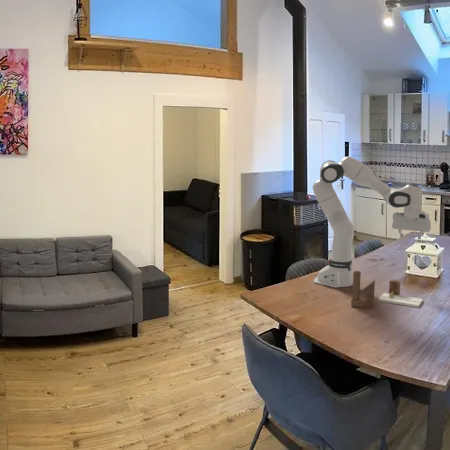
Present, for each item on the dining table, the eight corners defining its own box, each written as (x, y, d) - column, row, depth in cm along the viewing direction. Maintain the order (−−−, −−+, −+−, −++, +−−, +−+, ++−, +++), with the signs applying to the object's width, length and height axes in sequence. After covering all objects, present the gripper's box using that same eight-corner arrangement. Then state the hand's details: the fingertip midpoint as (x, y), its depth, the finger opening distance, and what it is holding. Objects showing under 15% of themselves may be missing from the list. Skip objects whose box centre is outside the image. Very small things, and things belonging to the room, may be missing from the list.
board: (378, 301, 269) (378, 298, 269) (383, 295, 278) (383, 292, 278) (418, 307, 259) (418, 305, 259) (422, 301, 268) (422, 298, 268)
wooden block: (372, 309, 257) (374, 274, 254) (351, 306, 262) (352, 272, 258) (373, 306, 261) (375, 272, 257) (352, 304, 265) (353, 270, 262)
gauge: (385, 299, 271) (385, 285, 270) (390, 293, 281) (391, 279, 279) (394, 301, 269) (395, 286, 267) (399, 295, 278) (400, 280, 277)
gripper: (391, 212, 286) (389, 237, 289) (430, 216, 276) (428, 241, 278) (394, 211, 291) (392, 235, 294) (432, 214, 281) (430, 239, 284)
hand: (410, 238), depth 286 cm, fingers open, 8 cm apart
